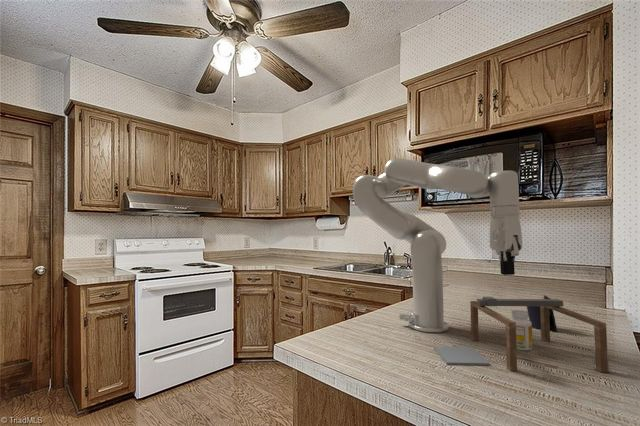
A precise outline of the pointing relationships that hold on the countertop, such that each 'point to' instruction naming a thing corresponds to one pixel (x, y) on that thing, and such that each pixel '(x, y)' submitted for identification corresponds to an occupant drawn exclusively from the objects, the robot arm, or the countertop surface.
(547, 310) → the frame
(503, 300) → the tie bar
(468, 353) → the slate mat
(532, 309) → the speaker
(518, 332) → the supplement bottle
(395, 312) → the countertop surface
